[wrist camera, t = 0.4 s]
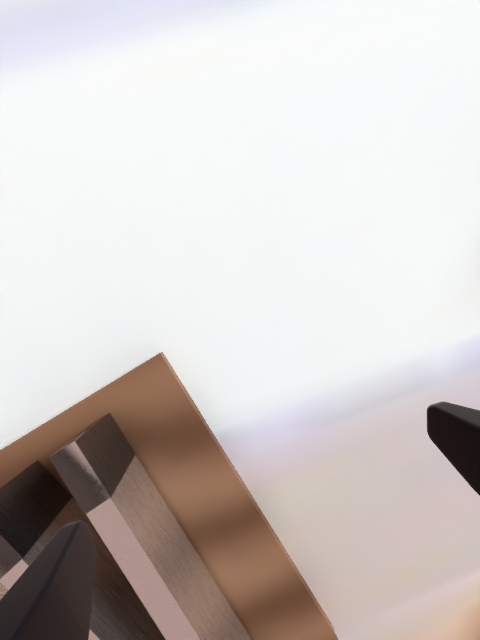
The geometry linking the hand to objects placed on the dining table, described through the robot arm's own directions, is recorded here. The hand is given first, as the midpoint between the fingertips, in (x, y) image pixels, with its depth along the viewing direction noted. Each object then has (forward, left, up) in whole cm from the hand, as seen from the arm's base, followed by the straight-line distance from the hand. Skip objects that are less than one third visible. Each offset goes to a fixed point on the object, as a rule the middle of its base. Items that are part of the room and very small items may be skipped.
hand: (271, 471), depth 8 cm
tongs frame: (-7, +8, -12) cm, 16 cm away
